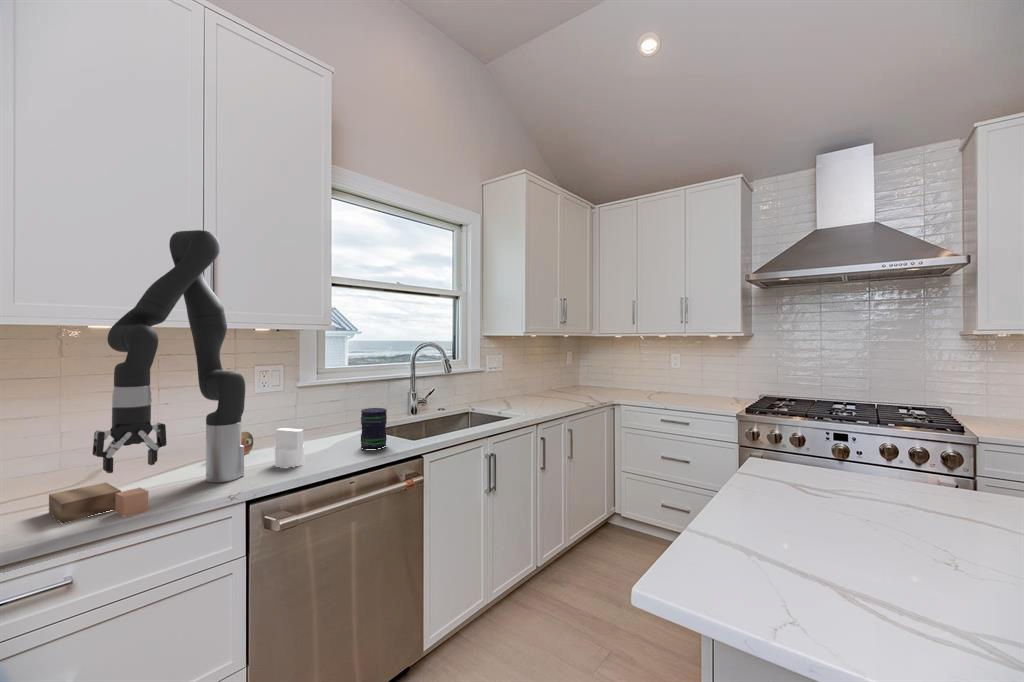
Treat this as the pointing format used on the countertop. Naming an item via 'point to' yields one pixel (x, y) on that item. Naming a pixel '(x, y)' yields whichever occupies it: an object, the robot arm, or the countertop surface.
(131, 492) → the terracotta cube
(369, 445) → the storage jar
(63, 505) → the walnut block
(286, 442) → the white block
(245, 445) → the tin
